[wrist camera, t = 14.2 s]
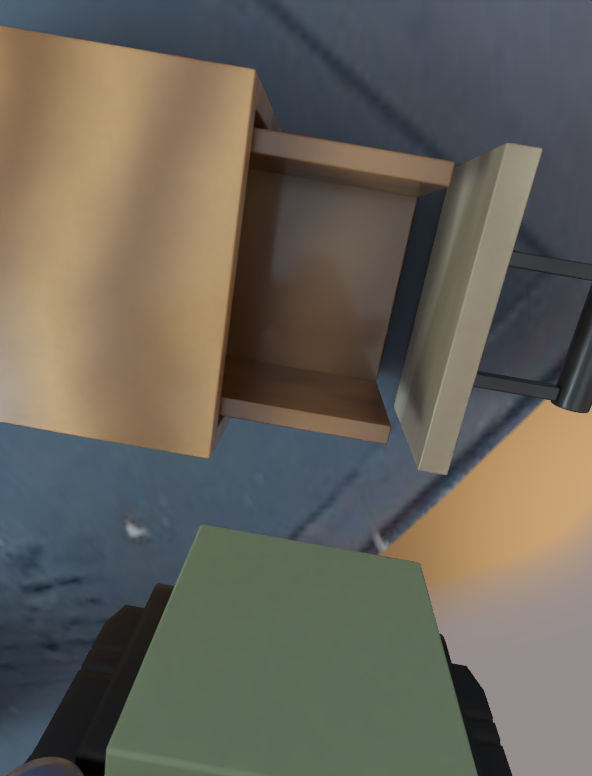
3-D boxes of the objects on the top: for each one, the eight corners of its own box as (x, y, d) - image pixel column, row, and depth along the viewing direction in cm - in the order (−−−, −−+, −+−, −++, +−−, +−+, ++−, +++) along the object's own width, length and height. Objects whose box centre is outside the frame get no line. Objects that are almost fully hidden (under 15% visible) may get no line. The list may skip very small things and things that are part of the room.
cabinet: (282, 128, 23) (256, 68, 15) (246, 386, 27) (209, 459, 19) (-43, 72, 23) (-261, -20, 15) (-29, 338, 27) (-193, 389, 19)
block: (373, 720, 12) (400, 1022, 7) (181, 686, 12) (93, 966, 7) (421, 561, 10) (492, 821, 6) (200, 522, 10) (103, 750, 6)
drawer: (602, 194, 22) (724, 178, 16) (522, 429, 26) (592, 501, 19) (166, 119, 23) (96, 71, 16) (149, 364, 26) (86, 412, 19)
